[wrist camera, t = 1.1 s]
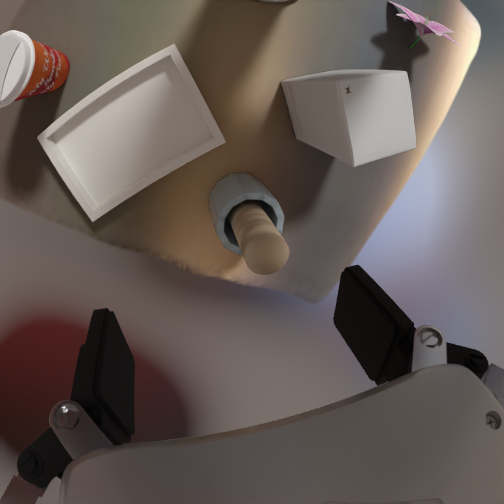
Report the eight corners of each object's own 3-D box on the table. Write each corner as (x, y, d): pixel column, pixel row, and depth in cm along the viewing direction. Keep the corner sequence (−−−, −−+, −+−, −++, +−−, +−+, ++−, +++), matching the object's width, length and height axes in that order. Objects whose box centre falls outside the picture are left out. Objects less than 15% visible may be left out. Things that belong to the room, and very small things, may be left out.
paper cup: (73, 97, 28) (23, 104, 16) (25, 102, 26) (-34, 115, 14) (82, 41, 24) (36, 20, 13) (32, 47, 22) (-25, 38, 10)
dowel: (247, 182, 39) (280, 228, 27) (259, 208, 42) (295, 261, 30) (218, 197, 39) (238, 250, 28) (232, 223, 42) (256, 281, 30)
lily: (435, 40, 34) (463, 15, 24) (436, 83, 34) (471, 59, 24) (378, 7, 33) (401, -25, 23) (373, 47, 33) (401, 12, 23)
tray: (174, 47, 28) (174, 43, 26) (222, 138, 36) (226, 142, 34) (45, 133, 29) (36, 137, 26) (97, 213, 37) (92, 222, 34)
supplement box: (295, 141, 39) (351, 170, 26) (279, 80, 34) (334, 78, 21) (349, 126, 39) (418, 150, 27) (337, 69, 34) (408, 70, 22)
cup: (251, 163, 39) (268, 180, 32) (273, 210, 43) (292, 235, 37) (199, 190, 39) (204, 214, 32) (225, 235, 44) (235, 265, 37)
